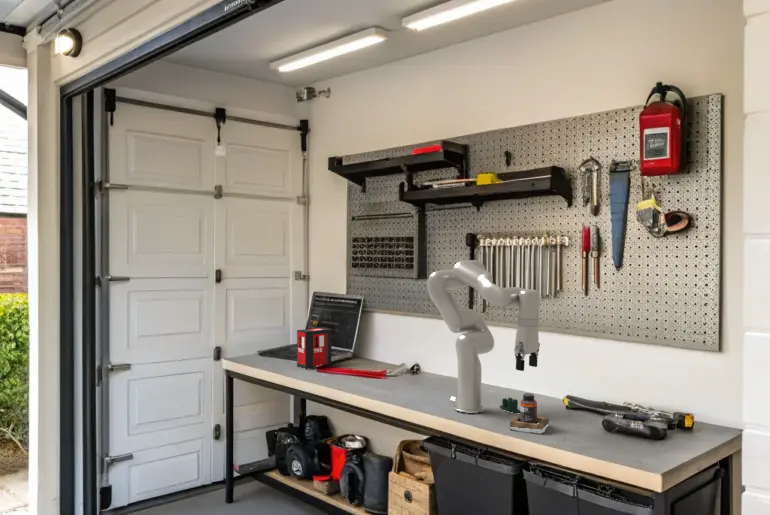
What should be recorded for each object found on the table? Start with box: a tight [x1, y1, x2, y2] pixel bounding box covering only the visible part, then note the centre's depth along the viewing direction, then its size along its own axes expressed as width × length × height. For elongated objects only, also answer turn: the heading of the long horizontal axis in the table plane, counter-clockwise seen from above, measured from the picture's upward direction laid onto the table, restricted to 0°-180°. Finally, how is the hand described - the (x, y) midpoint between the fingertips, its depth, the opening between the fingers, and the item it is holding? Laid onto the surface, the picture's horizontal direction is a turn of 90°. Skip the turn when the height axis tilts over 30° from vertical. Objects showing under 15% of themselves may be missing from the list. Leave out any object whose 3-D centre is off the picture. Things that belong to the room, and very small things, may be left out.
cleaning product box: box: [296, 327, 332, 370], centre depth 340 cm, size 16×9×20 cm, turn 130°
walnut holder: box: [509, 413, 550, 430], centre depth 229 cm, size 12×12×3 cm
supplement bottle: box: [520, 392, 538, 424], centre depth 230 cm, size 6×6×11 cm
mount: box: [499, 397, 521, 414], centre depth 253 cm, size 11×4×5 cm, turn 30°
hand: (526, 368), depth 233 cm, fingers open, 9 cm apart
